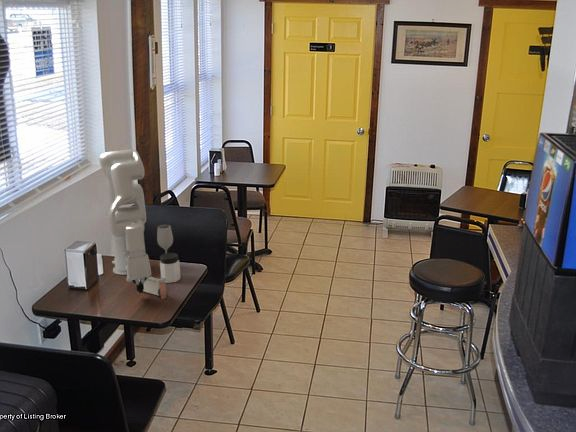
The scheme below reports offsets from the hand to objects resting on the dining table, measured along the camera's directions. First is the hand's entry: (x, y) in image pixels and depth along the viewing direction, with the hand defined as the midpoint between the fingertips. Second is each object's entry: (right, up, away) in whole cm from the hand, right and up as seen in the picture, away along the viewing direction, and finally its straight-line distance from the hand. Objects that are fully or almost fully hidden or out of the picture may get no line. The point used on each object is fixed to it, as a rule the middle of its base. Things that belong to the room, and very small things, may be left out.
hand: (140, 291), depth 279 cm
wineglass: (+5, +8, +35) cm, 36 cm away
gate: (+3, -1, +6) cm, 7 cm away
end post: (+10, -3, +1) cm, 11 cm away
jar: (+10, +3, +20) cm, 22 cm away
